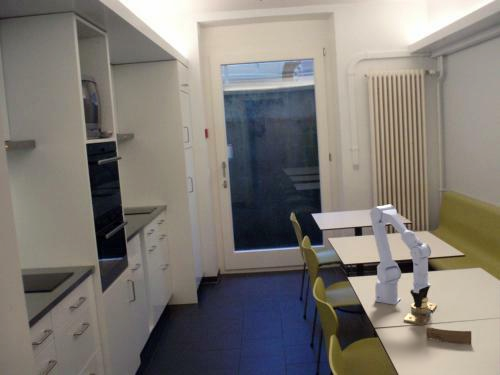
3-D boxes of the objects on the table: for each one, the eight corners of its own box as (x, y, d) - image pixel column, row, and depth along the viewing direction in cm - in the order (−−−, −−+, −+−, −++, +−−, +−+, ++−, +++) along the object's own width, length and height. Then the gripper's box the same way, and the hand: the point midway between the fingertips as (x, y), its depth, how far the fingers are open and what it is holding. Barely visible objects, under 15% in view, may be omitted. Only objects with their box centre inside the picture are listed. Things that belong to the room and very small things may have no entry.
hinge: (403, 321, 193) (403, 313, 193) (418, 303, 211) (418, 295, 211) (423, 325, 189) (423, 317, 188) (436, 306, 207) (436, 298, 206)
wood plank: (471, 342, 173) (471, 330, 172) (471, 345, 171) (471, 332, 170) (426, 338, 178) (426, 325, 178) (426, 340, 177) (426, 328, 176)
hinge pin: (414, 315, 199) (414, 299, 198) (417, 310, 203) (417, 295, 202) (426, 317, 196) (426, 301, 195) (429, 312, 200) (429, 297, 199)
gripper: (426, 279, 189) (426, 311, 191) (434, 269, 201) (434, 299, 203) (408, 277, 193) (408, 308, 195) (417, 267, 205) (417, 296, 207)
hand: (420, 303), depth 199 cm, fingers open, 7 cm apart
